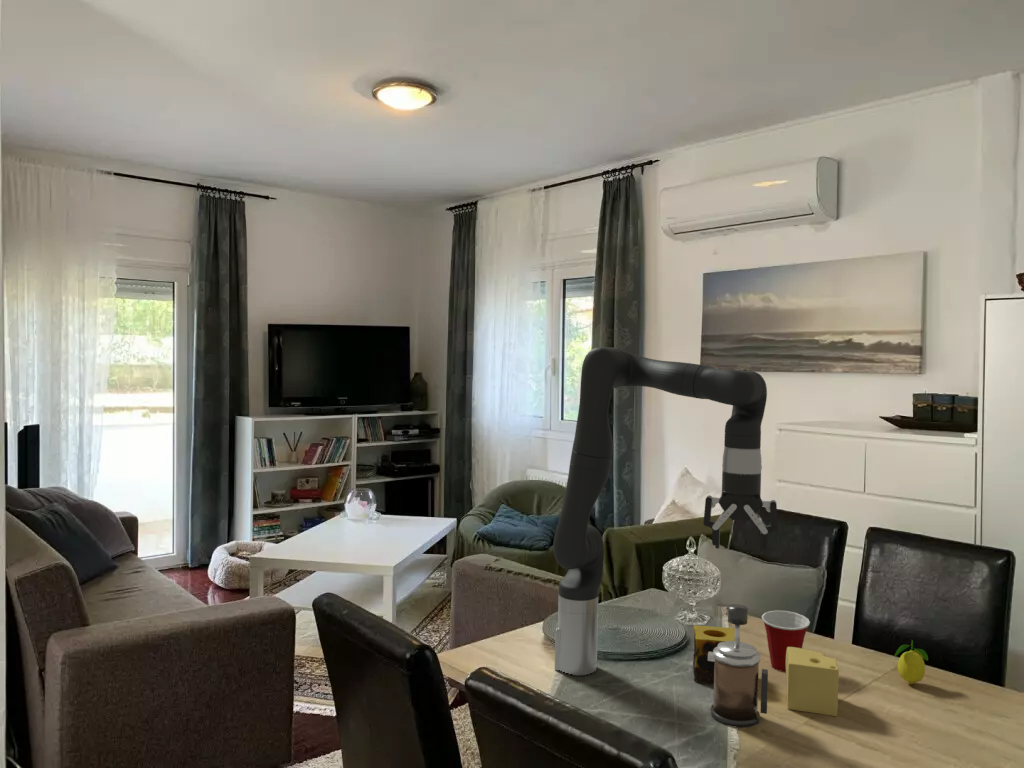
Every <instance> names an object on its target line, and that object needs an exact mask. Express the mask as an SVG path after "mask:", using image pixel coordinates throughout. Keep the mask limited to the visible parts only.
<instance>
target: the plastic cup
mask: <svg viewBox="0 0 1024 768" xmlns="http://www.w3.org/2000/svg"><path fill="white" fill-rule="evenodd" d="M761 620H762V622H763V623H764V627H765V632H766V638H767V639H766V640H767V647H768V648H767V649H768V653H769V660H770V664H771V667H772V669H774V670H777V671H780V672H784V673H786V651H787V647H796V648H802V649H803V645H804V641H805V636H806V632H807V629H808V627H809V626H810V624H811V621H810V620H809V618H808V617H806V616H805V615H802V614H799V613H798V612H794V611H788V610H770V611H767V612H764V613H763V614H762V615H761Z"/></svg>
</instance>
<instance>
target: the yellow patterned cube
mask: <svg viewBox="0 0 1024 768" xmlns="http://www.w3.org/2000/svg"><path fill="white" fill-rule="evenodd" d="M725 641H735V627H734V628H733V627H723V626H722V627H719V626H707V625H705V626H704V625H697V624H696V625H694V626H693V643H694V644H693V655H692V656H693V657H692V659H693V660H692V661H693V662H692V664H693V665H692V666H693V667H692V669H693V676H694V677H693V681H694V682H696V683H697V684H698V683H700V684H707V685H708V684H711V685H714V664H715V662H713V661H708V652H713V650H714V648H715V647H717V646H718V644H719V643H721V642H725Z"/></svg>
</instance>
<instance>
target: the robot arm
mask: <svg viewBox="0 0 1024 768" xmlns="http://www.w3.org/2000/svg"><path fill="white" fill-rule="evenodd" d="M620 387H647V388H652V389H653V388H654V389H657V390H659V391H662V392H663V391H664V392H666V393H670V394H673V395H677V396H682V397H688V398H693V399H698V400H699V399H701V400H709V401H712V402H716V403H719V404H723V405H729V406H732V410H731V416H730V417H729V418H728V420H727V421H726V422H725V427H724V441H723V442H724V445H723V446H724V447H723V448H724V449H723V453H722V468H721V469H722V474H721V475H722V476H721V496H720V497H714V496H712V495H707V496H706V497H705V503H704V510H703V511H704V515H703V526H704V527H708V528H711V530H712V535H711V536H712V538H711V540H712V541H711V544H712V546H714V547H715V549H717V550H718V549H720V545H721V544H720V542H721V541H720V540H721V526H722V525H723V524H724V523H725V522H726V521H727V520H728V519H729V520H732V521H739V520H740V521H743V522H749V521H752V522H753V523H754V525H755V526H756V527H757V528H758V530H759V531H760V532H759V553H761V554H764V551H767V549H768V535H769V534H770V533H776V532H777V531H778V510H777V509H778V507H777V501H776V500H775V499H772V500H762V498H761V491H762V490H761V488H762V486H761V485H762V469H763V467H762V454H761V444H762V443H761V441H762V440H761V439H762V429H761V428H762V424H763V418H764V414H765V411H766V410H765V409H766V405H767V396H768V391H767V390H768V389H767V384H766V380H765V379H764V377H763V376H762V375H761V374H759V373H758V372H756V371H753V370H734V369H733V370H732V369H723V368H715V367H713V366H709V365H704V364H698V363H697V364H696V363H691V362H682V361H681V362H680V361H669V360H668V361H667V360H658V359H653V358H649V357H646V356H641V355H638V354H635V353H632V352H630V351H626V350H624V349H621V348H618V347H610V346H609V347H608V346H607V347H605V346H599V347H594V348H592V349H591V350H589V351H588V352H587V354H586V355H585V357H584V359H583V362H582V365H581V374H580V389H579V405H578V413H577V419H576V424H575V425H576V426H575V433H574V439H573V442H572V448H571V455H570V461H569V467H568V474H567V482H566V487H565V491H564V497H563V503H562V508H561V512H560V515H559V519H558V523H557V526H556V530H555V534H554V538H553V544H552V548H553V549H552V550H553V556H554V559H555V561H556V562H557V564H558V565H559V566H560V567H561V568H563V569H566V570H567V572H566V574H565V575H564V576H563V578H561V580H560V582H558V583H559V584H558V600H557V601H558V603H557V606H558V607H557V609H558V610H557V614H558V615H557V626H556V628H555V630H554V633H555V635H554V637H555V638H554V670H555V671H559V670H560V671H559V672H561V671H562V673H563V672H565V673H564V674H566V673H569V674H568V675H570V674H573V675H572V676H588V675H591V674H590V673H592V672H594V671H595V670H596V671H597V669H598V666H597V665H598V630H599V629H598V627H599V625H598V624H599V622H598V621H599V619H598V618H599V617H598V616H599V590H600V587H601V585H602V582H603V573H604V561H605V560H604V559H605V545H604V539H603V537H602V534H601V532H600V530H598V528H596V527H595V526H593V525H591V524H589V522H590V516H591V513H592V510H593V508H594V505H595V504H596V502H597V500H598V498H599V497H600V495H601V493H602V491H603V489H604V487H605V486H606V484H607V482H608V478H609V476H610V471H611V467H612V461H613V455H614V441H613V435H612V430H611V426H610V422H609V408H610V401H611V396H612V392H613V389H617V388H620ZM717 504H719V507H721V509H722V511H723V512H722V513H721V514H720V515H719V517H718V518H717V519H716V520H715V521H714V520H713V519H712V509H714V508H716V505H717ZM763 507H764V508H765V510H766V512H768V513H770V524H769V525H767V524H765V522H764V521H763V519H762V518H761V516H760V515H759V514H758V513H760V510H761V509H762V508H763ZM596 668H597V669H596ZM596 671H595V672H596ZM595 672H594V673H595ZM587 674H588V675H587ZM592 674H593V673H592Z"/></svg>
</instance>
